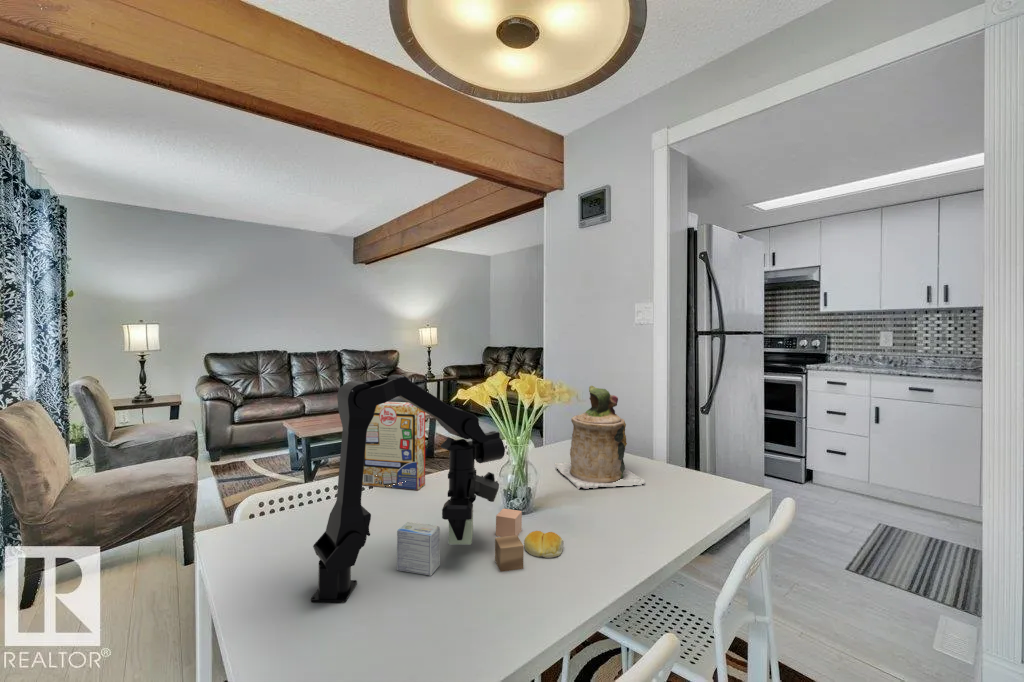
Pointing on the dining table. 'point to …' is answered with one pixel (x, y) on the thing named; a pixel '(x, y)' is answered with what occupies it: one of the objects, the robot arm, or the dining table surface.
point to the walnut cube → (509, 553)
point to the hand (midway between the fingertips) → (461, 534)
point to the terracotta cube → (508, 523)
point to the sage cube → (466, 535)
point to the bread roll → (543, 544)
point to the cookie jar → (598, 445)
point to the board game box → (395, 447)
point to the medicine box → (418, 548)
